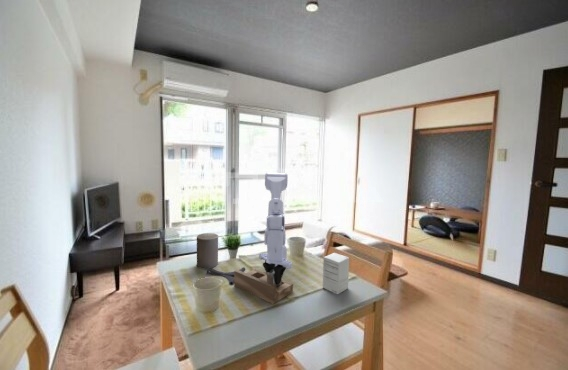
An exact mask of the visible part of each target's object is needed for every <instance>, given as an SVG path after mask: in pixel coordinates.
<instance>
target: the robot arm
mask: <svg viewBox="0 0 568 370" xmlns="http://www.w3.org/2000/svg"><path fill="white" fill-rule="evenodd" d="M264 174H265V175H264V186H265V190H267V191H269V192H270V194H271V197H270V198H271V200H269V201H268V210H267V212H268V213H267V217H266V228H265V229H264V239H263V240H264V241H263V242H264V246H266V253H263V252H261V253H258V260H261V261H262V260H263V261H264V262H263V263H262V266H263V268H264V270H265V273H267V272H268V271H270V270H272V269H274V272H275V283H276V285H278V284H280V283H281V279H282V280H283V275H284V273H285V271H286V270H290V269H293V262H292V261H289V260H287V257H288V256H287V255H288V254H287V250H288V249H287V246H286V238H287V237H286V229H285V227H286V220H285V219H286V218H285V217H286V216H285V213H284V202H283V200H281V196H282V192H283V191H286V190H287V188H288V181H289V180H288V172H284V173H283V172H282V173H281V172H265V173H264Z"/></svg>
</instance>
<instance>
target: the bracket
mask: <svg viewBox="0 0 568 370" xmlns="http://www.w3.org/2000/svg"><path fill="white" fill-rule="evenodd" d="M238 270H239V271H242V272H244V273H245V271H246V267H244V266H243V267H241V268H240V269H238ZM206 274H207V275H215V276H216V275H217V276H222V277H224V278H226V279H227V281H228V284H229V285H231V284H232V285H234V271H229V272H224V271H219V270H217V269H213V268H207V270H206Z"/></svg>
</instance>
